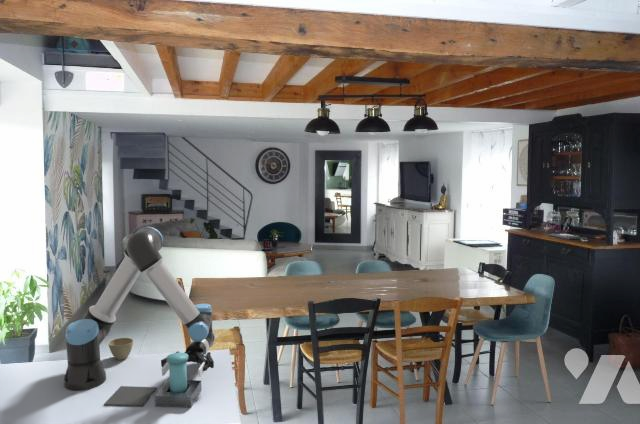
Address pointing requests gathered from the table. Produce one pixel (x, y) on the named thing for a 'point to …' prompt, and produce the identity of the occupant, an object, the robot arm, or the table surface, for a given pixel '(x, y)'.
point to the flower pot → (121, 347)
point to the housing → (178, 395)
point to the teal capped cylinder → (178, 372)
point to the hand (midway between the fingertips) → (180, 372)
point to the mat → (130, 396)
